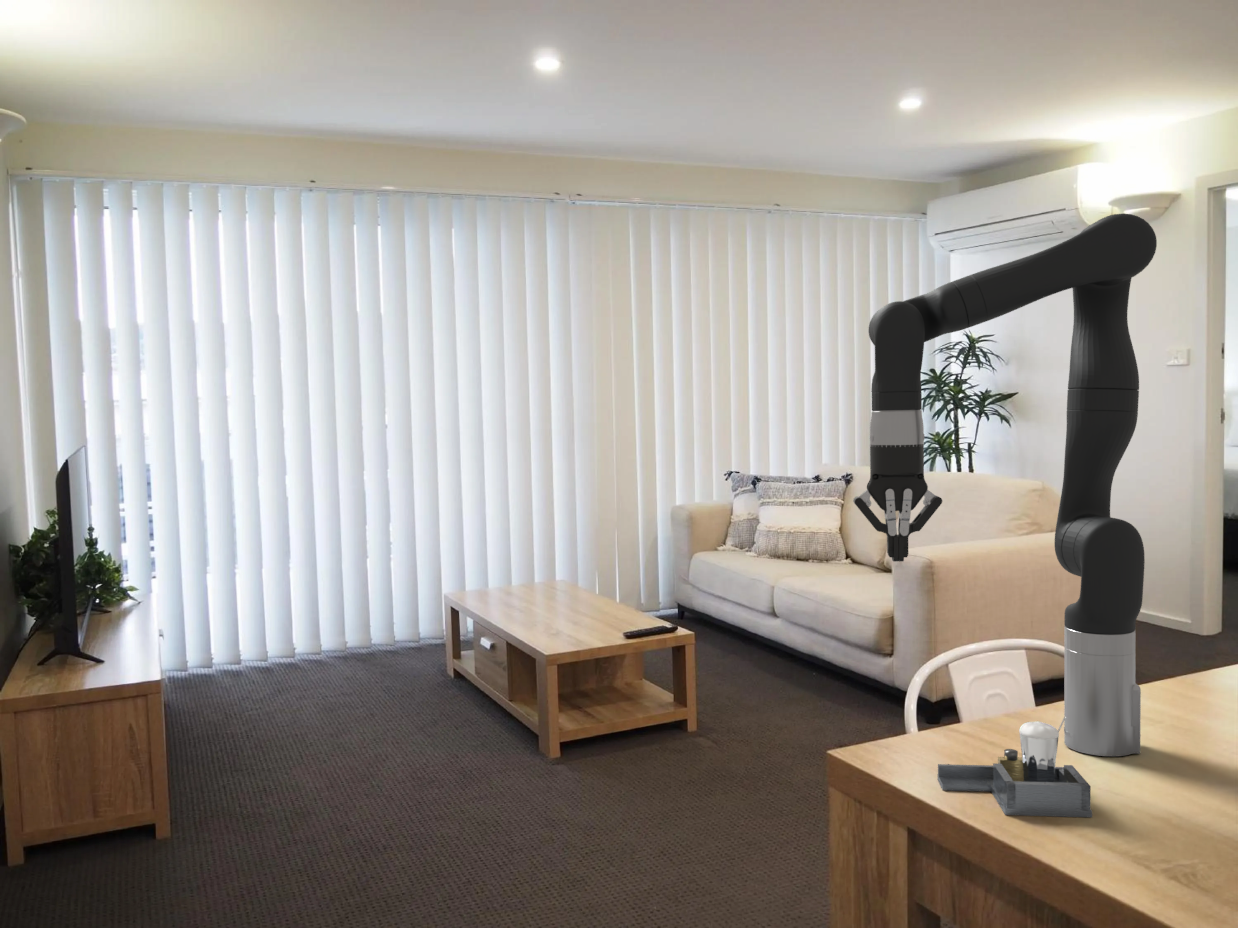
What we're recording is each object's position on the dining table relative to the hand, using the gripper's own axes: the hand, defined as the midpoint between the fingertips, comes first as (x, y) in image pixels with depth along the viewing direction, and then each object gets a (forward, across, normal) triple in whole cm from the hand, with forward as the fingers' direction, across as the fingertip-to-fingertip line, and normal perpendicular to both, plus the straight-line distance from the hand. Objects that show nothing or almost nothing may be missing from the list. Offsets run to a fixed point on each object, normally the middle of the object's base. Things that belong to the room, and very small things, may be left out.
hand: (897, 560), depth 152 cm
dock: (+27, -11, +21) cm, 36 cm away
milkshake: (+26, -14, +22) cm, 37 cm away
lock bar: (+26, -13, +17) cm, 34 cm away
